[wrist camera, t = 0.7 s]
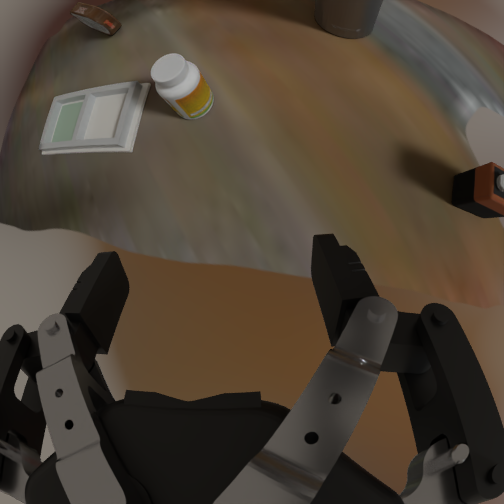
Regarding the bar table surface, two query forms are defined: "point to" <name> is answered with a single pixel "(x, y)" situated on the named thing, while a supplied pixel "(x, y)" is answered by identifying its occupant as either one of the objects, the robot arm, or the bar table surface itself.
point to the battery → (480, 191)
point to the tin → (96, 18)
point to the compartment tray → (95, 119)
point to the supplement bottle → (182, 86)
